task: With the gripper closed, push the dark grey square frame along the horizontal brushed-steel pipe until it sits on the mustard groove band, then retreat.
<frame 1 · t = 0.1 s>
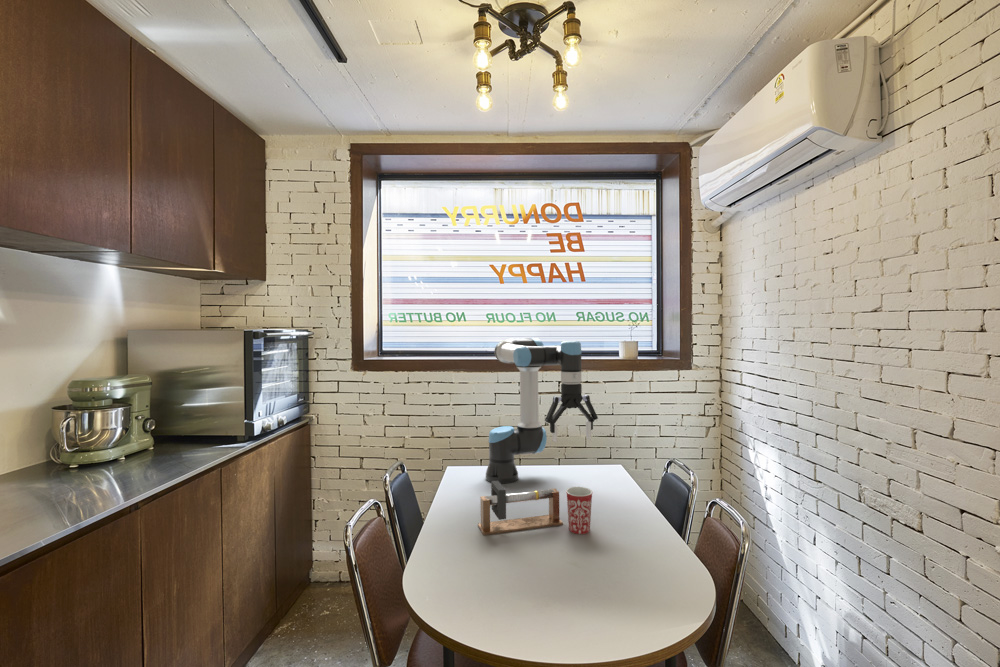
hand: (571, 440, 176), 28 cm above the table, fingers open, 13 cm apart
pipe rig: (520, 525, 168), on the table
mug: (579, 528, 166), on the table
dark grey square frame: (498, 499, 166), point 10 cm above the table, slide at 0.0 cm
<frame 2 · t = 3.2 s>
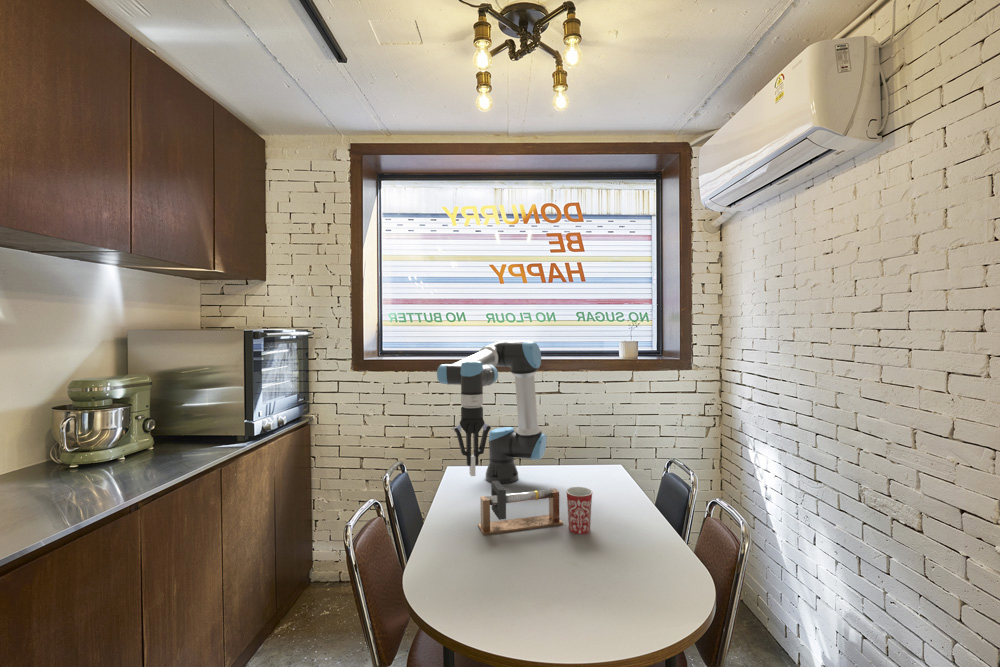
hand: (472, 474, 163), 20 cm above the table, fingers closed
nothing on the table moved.
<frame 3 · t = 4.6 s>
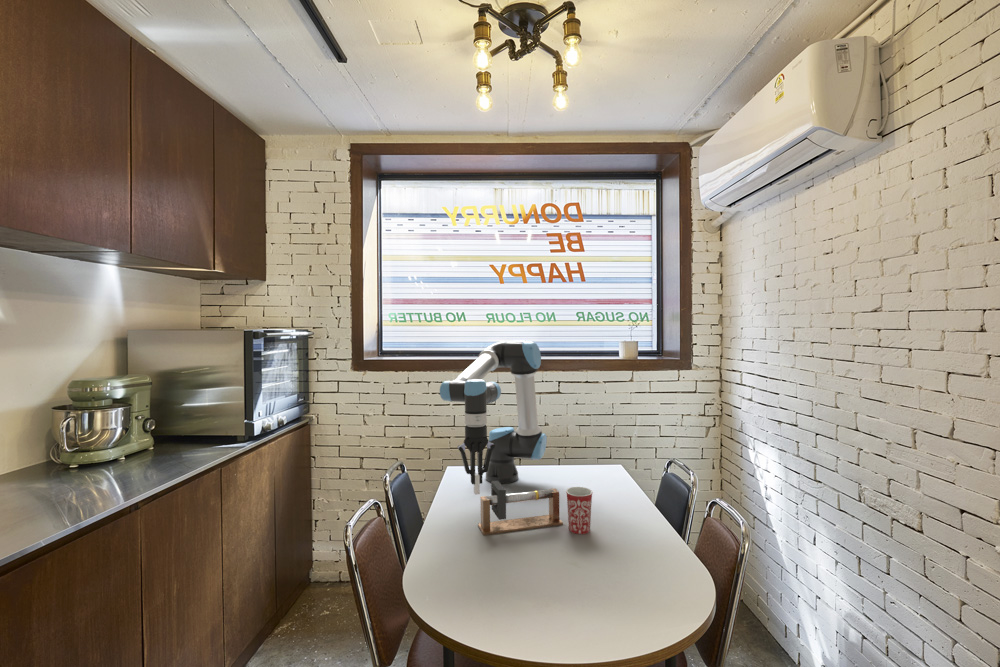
hand: (476, 492, 164), 13 cm above the table, fingers closed
nothing on the table moved.
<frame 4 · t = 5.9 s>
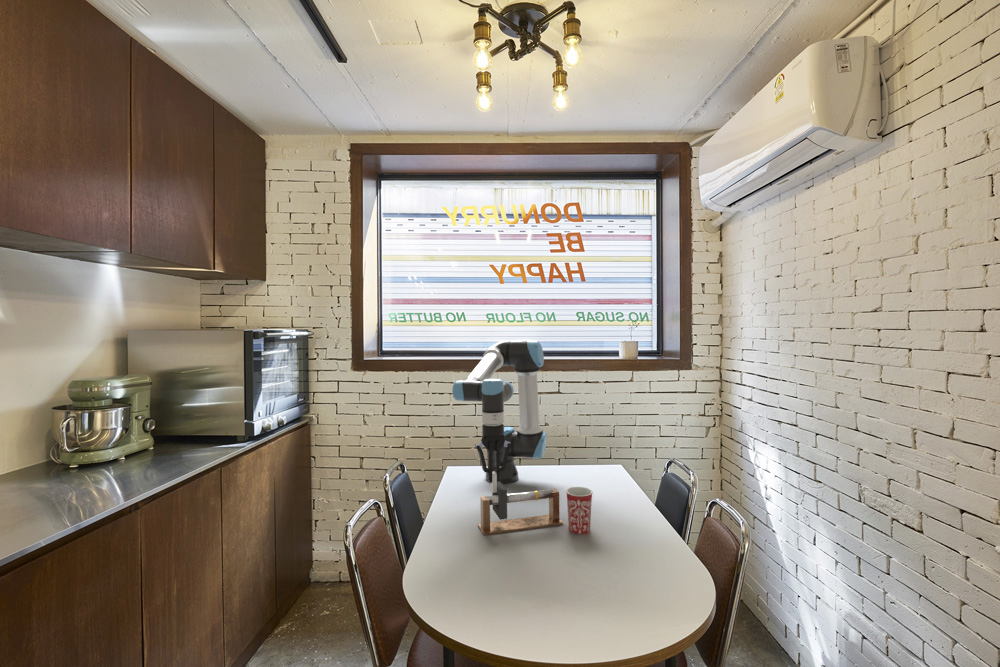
hand: (493, 491, 166), 13 cm above the table, fingers closed
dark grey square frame: (499, 499, 166), point 10 cm above the table, slide at 0.4 cm, touching gripper
everything else where it was.
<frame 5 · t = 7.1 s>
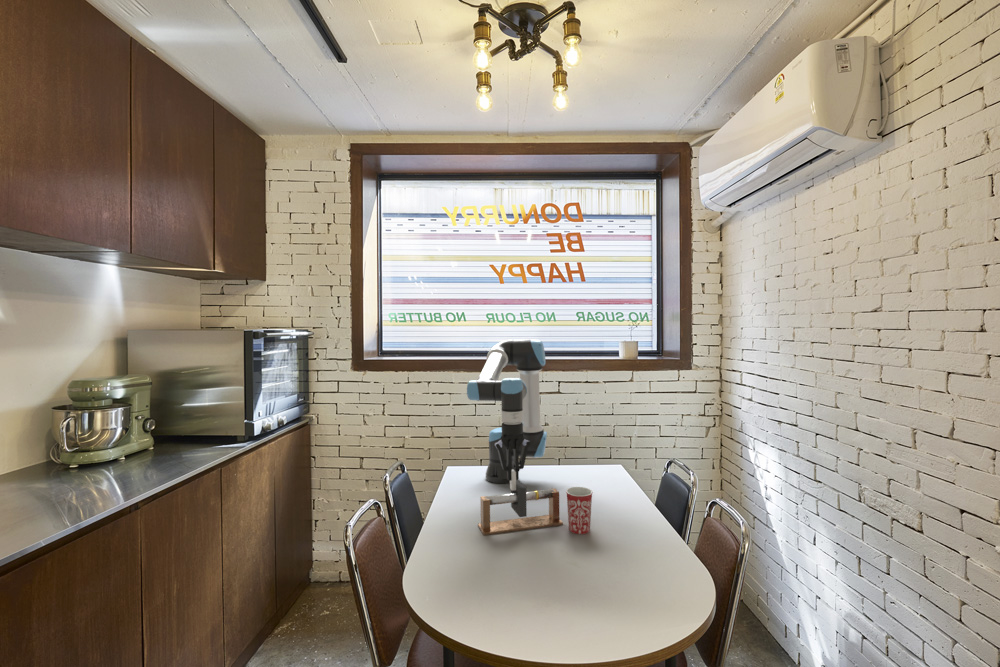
hand: (512, 489, 168), 13 cm above the table, fingers closed
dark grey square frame: (518, 497, 168), point 10 cm above the table, slide at 7.4 cm, touching gripper
everything else where it was.
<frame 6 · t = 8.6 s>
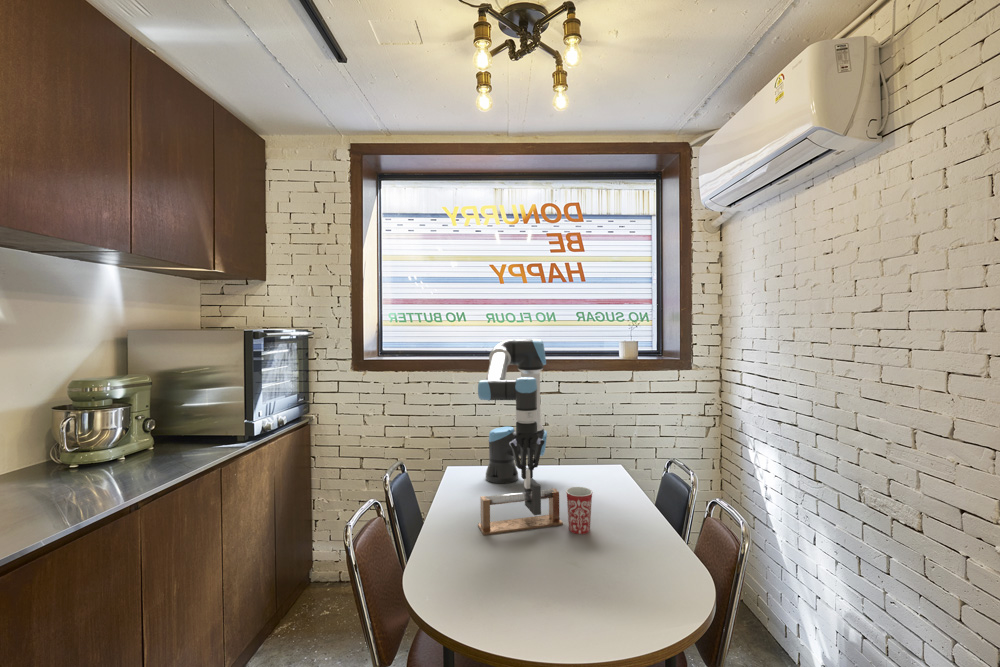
hand: (527, 487, 169), 13 cm above the table, fingers closed
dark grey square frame: (532, 495, 169), point 10 cm above the table, slide at 12.6 cm, touching gripper
everything else where it was.
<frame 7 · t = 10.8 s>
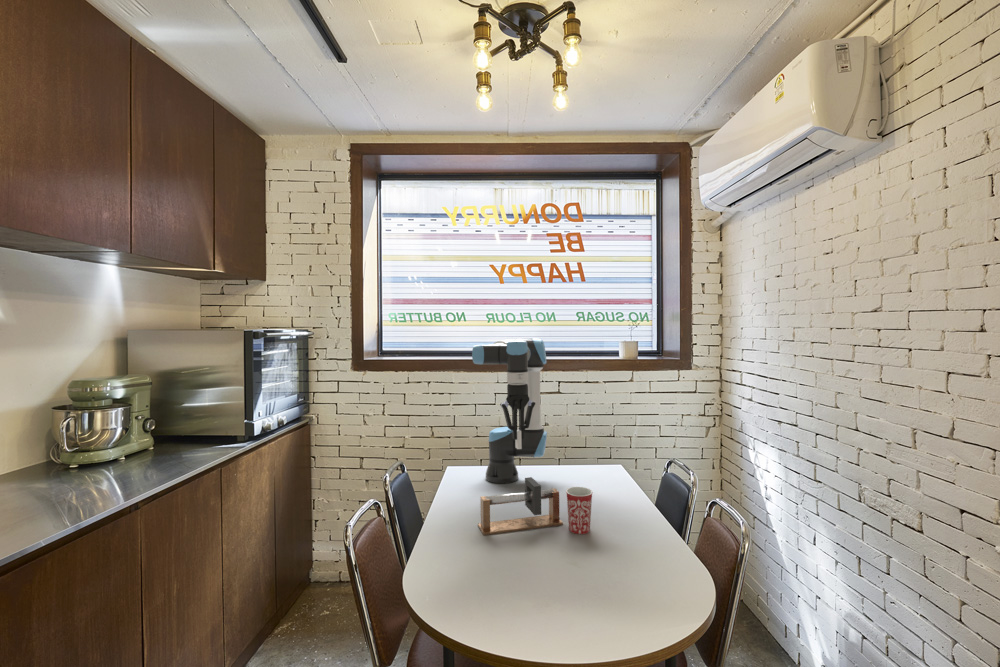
hand: (518, 448, 173), 26 cm above the table, fingers closed
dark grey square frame: (532, 495, 169), point 10 cm above the table, slide at 12.7 cm
everything else where it was.
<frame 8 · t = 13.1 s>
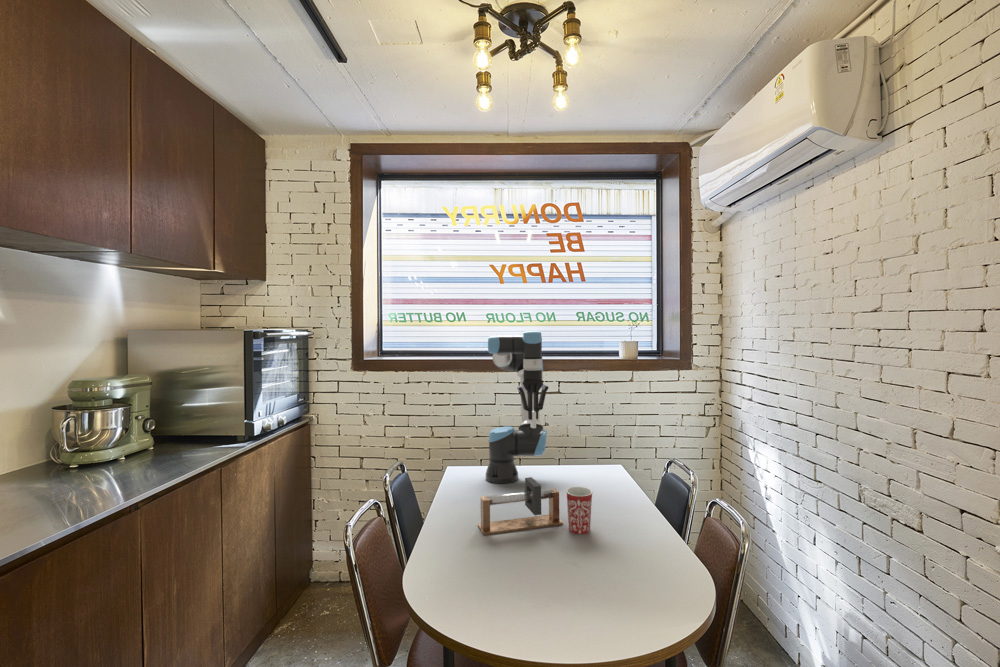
hand: (533, 427, 193), 29 cm above the table, fingers closed
nothing on the table moved.
at the end: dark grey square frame slide at 12.7 cm; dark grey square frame touching nothing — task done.
